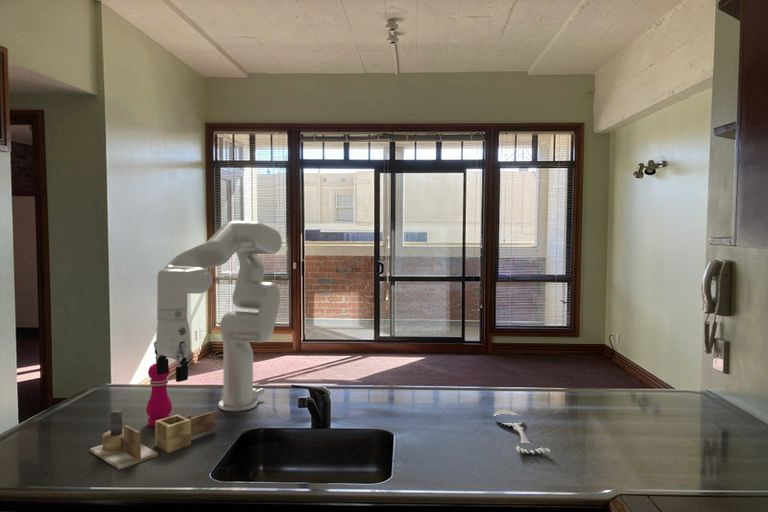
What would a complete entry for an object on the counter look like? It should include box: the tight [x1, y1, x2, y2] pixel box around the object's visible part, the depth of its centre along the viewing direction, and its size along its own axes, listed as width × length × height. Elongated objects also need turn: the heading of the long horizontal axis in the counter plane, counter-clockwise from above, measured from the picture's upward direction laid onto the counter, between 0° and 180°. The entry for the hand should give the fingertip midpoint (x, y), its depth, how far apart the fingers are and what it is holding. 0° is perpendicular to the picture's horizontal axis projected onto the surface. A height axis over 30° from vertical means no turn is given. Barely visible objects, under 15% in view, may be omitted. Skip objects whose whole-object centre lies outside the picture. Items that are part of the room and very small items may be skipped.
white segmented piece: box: [493, 409, 551, 455], centre depth 154 cm, size 9×32×4 cm, turn 1°
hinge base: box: [89, 409, 159, 470], centre depth 138 cm, size 16×10×10 cm, turn 52°
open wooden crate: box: [154, 410, 216, 454], centre depth 147 cm, size 16×7×7 cm, turn 142°
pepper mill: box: [145, 359, 173, 427], centre depth 159 cm, size 7×7×20 cm
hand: (171, 377), depth 142 cm, fingers open, 9 cm apart
